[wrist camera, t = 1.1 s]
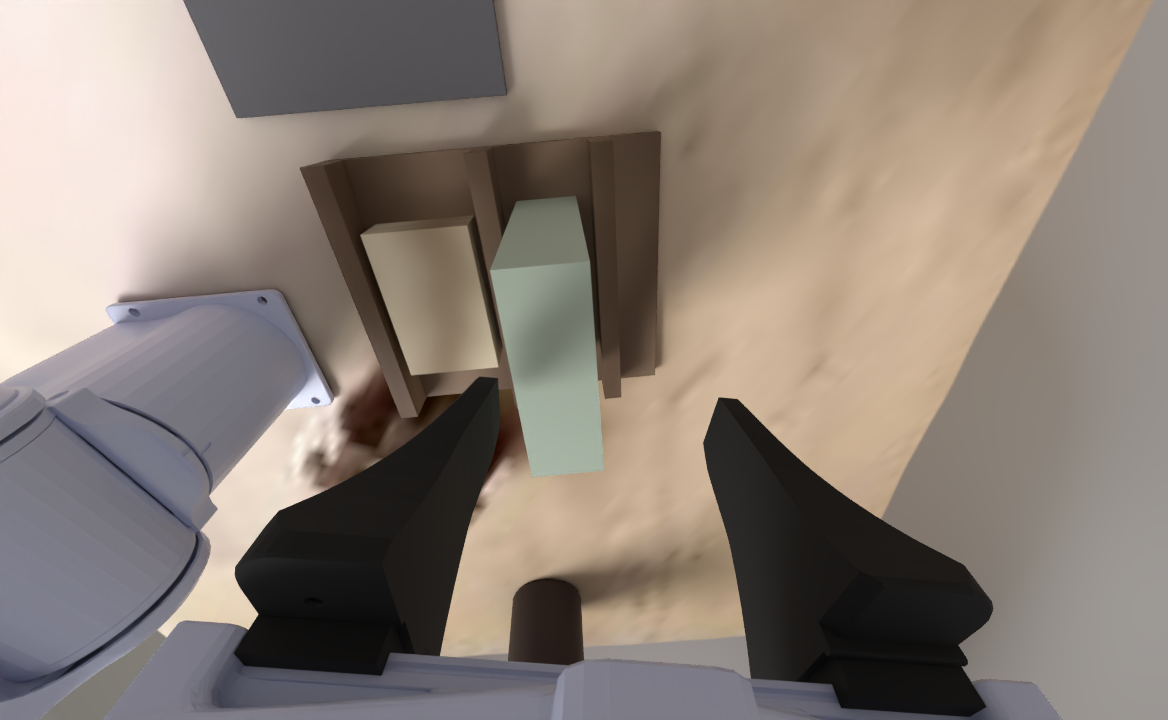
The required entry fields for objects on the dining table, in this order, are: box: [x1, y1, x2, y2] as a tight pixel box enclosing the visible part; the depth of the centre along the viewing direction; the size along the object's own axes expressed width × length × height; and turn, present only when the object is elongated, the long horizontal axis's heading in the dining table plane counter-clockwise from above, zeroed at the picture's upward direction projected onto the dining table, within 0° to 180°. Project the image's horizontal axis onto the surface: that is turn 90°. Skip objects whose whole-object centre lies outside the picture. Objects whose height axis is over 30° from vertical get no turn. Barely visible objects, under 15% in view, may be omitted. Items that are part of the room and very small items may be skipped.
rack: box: [300, 131, 661, 418], centre depth 23 cm, size 16×14×3 cm
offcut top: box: [360, 220, 500, 375], centre depth 22 cm, size 5×8×1 cm, turn 4°
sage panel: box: [490, 196, 604, 477], centre depth 19 cm, size 3×9×10 cm, turn 4°
